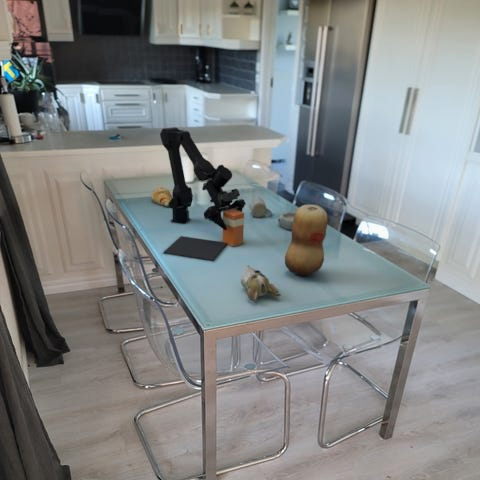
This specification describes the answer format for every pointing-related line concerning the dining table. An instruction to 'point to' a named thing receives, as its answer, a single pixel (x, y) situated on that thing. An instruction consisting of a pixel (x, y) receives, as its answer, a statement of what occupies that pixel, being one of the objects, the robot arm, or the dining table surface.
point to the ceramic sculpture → (257, 284)
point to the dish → (286, 220)
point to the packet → (233, 227)
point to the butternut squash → (307, 240)
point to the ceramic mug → (259, 207)
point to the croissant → (161, 196)
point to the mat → (196, 248)
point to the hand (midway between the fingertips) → (234, 227)
